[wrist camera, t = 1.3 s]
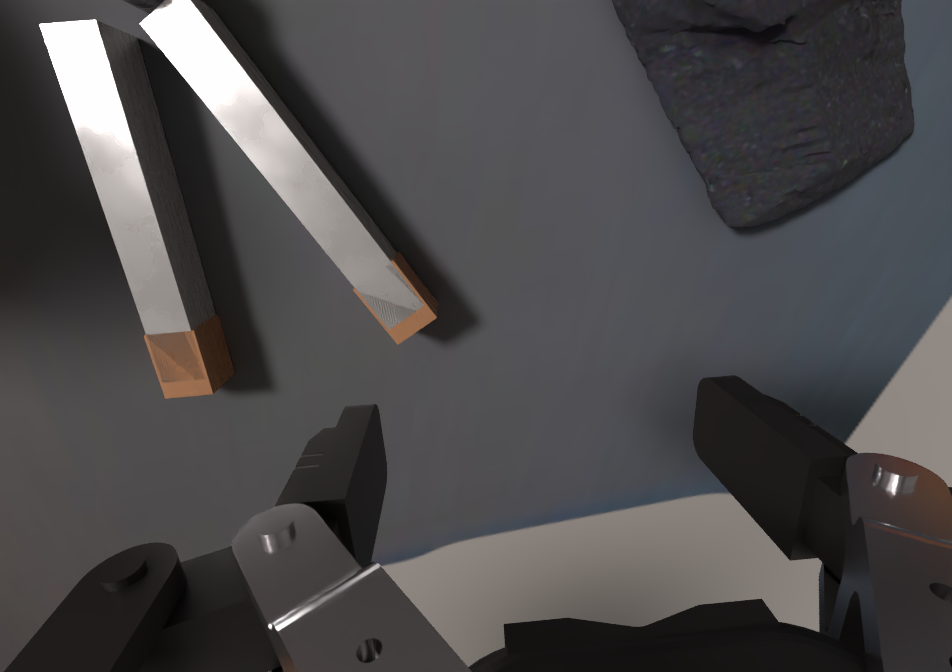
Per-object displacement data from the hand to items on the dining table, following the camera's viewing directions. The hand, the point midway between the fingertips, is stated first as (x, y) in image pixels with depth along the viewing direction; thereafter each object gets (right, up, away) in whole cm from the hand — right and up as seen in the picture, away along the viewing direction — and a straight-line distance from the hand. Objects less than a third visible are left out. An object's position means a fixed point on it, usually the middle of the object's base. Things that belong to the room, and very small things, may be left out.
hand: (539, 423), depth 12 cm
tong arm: (-10, +11, +15) cm, 21 cm away
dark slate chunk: (+14, +20, +14) cm, 28 cm away
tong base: (-18, +10, +15) cm, 26 cm away
